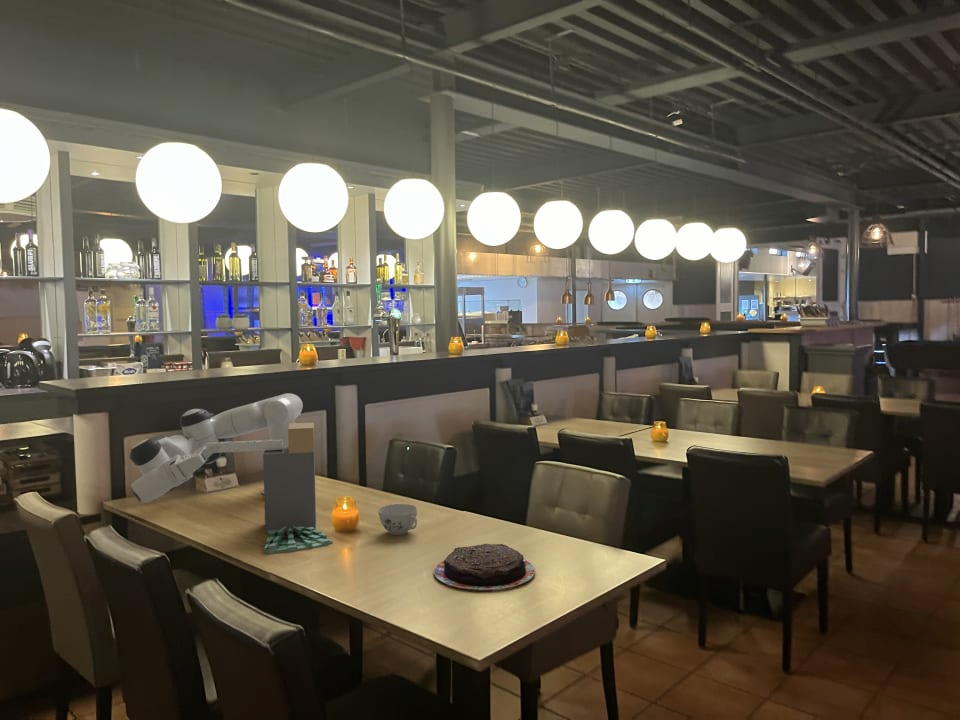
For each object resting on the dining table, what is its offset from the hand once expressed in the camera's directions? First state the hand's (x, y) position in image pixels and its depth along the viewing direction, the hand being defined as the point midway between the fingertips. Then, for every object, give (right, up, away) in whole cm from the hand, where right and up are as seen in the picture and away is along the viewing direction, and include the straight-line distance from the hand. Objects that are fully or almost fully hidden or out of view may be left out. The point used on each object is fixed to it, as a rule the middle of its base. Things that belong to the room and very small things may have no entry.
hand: (218, 445), depth 241 cm
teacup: (+60, -28, -2) cm, 66 cm away
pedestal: (+22, -28, +7) cm, 36 cm away
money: (+27, -30, -13) cm, 42 cm away
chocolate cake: (+87, -31, -38) cm, 100 cm away
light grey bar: (+8, -2, +2) cm, 9 cm away
